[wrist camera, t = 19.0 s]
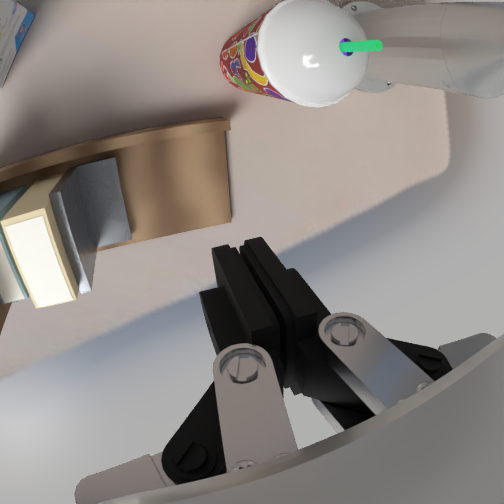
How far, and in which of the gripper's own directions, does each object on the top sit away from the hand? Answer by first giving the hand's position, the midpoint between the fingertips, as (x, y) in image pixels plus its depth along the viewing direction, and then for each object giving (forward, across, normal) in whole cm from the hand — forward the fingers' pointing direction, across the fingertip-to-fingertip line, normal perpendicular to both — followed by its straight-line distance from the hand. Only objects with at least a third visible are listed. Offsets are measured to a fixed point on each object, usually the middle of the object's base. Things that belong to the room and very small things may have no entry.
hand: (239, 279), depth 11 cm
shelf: (+24, +8, +4) cm, 26 cm away
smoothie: (+25, -9, -8) cm, 28 cm away
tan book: (+24, +13, +4) cm, 27 cm away
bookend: (+23, +9, +4) cm, 25 cm away
